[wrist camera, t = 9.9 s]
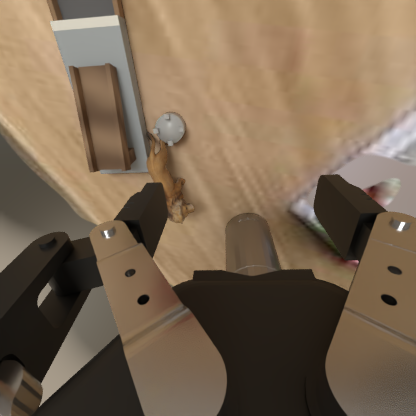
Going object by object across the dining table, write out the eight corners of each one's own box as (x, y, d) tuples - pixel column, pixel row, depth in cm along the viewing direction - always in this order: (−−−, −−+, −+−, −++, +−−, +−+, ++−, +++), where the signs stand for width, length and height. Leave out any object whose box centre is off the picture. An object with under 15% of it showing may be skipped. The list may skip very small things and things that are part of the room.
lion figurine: (200, 195, 43) (196, 222, 36) (177, 205, 45) (168, 232, 37) (160, 124, 37) (143, 138, 29) (134, 138, 38) (112, 155, 31)
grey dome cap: (188, 139, 38) (185, 145, 35) (160, 141, 38) (156, 146, 35) (184, 110, 35) (181, 113, 32) (155, 111, 36) (150, 114, 33)
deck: (153, 167, 41) (150, 172, 39) (106, 168, 41) (100, 173, 39) (124, 19, 30) (117, 15, 28) (61, 24, 30) (49, 21, 28)
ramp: (138, 161, 38) (126, 174, 33) (106, 162, 38) (90, 175, 34) (115, 63, 30) (96, 62, 26) (76, 66, 31) (51, 65, 26)
